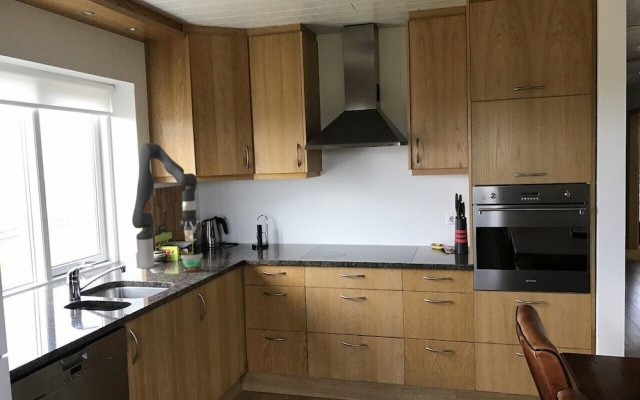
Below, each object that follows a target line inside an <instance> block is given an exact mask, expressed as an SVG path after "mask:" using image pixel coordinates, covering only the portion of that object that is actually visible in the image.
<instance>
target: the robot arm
mask: <svg viewBox="0 0 640 400" xmlns="http://www.w3.org/2000/svg"><path fill="white" fill-rule="evenodd" d="M151 160H158V161H159V162H161V163H162V164H163V165H162V166H163V168H164V169H165V171H166V172H167V173H168V174H170V175H171V176H172V177H173V178H174V179H175V181H176V182H177V184H178V185H180V186H181V187H186V188H185V190H183V191H182V192H181V212H182V220H181V221H180V220H179V221H178V222H177V224H178V226H179V229H180V232H182V233H183V236H184V239H185V230H189V228H191V229H193V232H194V233H193V237H194V239H196V240H197V238H198V232H200V231H201V228H202V223H203V222H202V220H198V218H197V205H196V195H195V193H196V189H197V188H196V187H197V185H198V184H197V183H198V181H197V176H196V175H195V174H194V173H192V172H191V173H190V172H189V173H185V170H184V168H183V167H182V166H181V165H180V164H179V163H177V162H176V161H175V160H173V159H172V157H170V156H169V154H168V153H167V152H166V151H165V150H164V149H163V148H162V147H161V146H160V145H159V144H158V143H157V142H155V143H154V142H149V143H148V142H147V143H146V142H145V143H143V144H142V145H141V146H140V149H139V168H138V169H139V170H138V171H139V172H138V180H137V188H136V197H135V204H134V209H133V212H132V213H133V214H132V218H131V219H132V226H133V227H134V228H135V229H141V231H140V232H139V233H137V234H136V250H137V251H136V252H135V256H136V257H135V261H136V268H137V269H150V268H153V267H155V253H154V238H153V236H154V217H153V215H152V213H151V211H145V208H146V205H147V203H148V202H149V200H150V199H151V198H152V196H153V194H154V190H155V179H154V176H153V173H152V172H151V168H150V167H151Z"/></svg>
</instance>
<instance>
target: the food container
mask: <svg viewBox="0 0 640 400" xmlns="http://www.w3.org/2000/svg"><path fill="white" fill-rule="evenodd" d="M203 257H204V255H203V253H202V252H201V253H199V254H189V255H184V254H181V255H180V259H182V267H183V272H184V273H187V274H193V273H194V272H195V273H199V272H201V271H202V259H203Z"/></svg>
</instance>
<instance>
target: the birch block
mask: <svg viewBox="0 0 640 400" xmlns="http://www.w3.org/2000/svg"><path fill="white" fill-rule="evenodd" d="M193 233H194V232H193V229H192V228H191V229H188V230H185V238H184V240H185V242H194V241H197V238H196V239H194V237H193Z"/></svg>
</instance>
